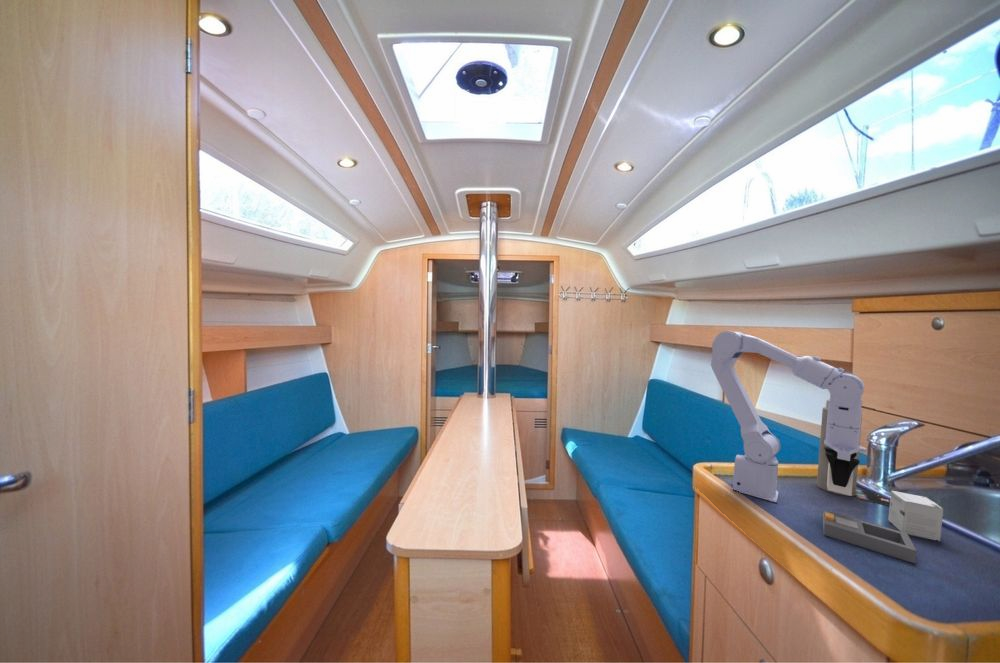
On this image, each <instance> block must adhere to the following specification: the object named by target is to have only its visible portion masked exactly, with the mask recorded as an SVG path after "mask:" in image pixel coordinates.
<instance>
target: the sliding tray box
mask: <svg viewBox="0 0 1000 663" xmlns="http://www.w3.org/2000/svg"><path fill="white" fill-rule="evenodd" d="M822 527H823V528H822V529H823V536H827V537H830V538H833V539H835V540H839V541H843V542H846V543H849V544H852V545H855V546H858V547H862V548H864V549H868V550H871V551H875V552H877V553H880V554H883V555H886V556H890V557H893V558H895V559H896V558H897V559H899V560H903V561H906V562H909V563H912V564H916V563H917V562H916V561H917V560H916V559H917V549H916V547H915V546H914V543H913V541H912V540H911V538H910V536H909V534H907V533H904V532H901V531H900V530H896V529H893V528H890V527H885V526H882V525H879V524H876V523H871V522H868V521H865V520H862V519H859V518H854V517H850V516H846V515H843V514H839V513H836V512H833V511H829V510H825V509H823V510H822Z"/></svg>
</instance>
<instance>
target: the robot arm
mask: <svg viewBox="0 0 1000 663" xmlns="http://www.w3.org/2000/svg"><path fill="white" fill-rule="evenodd" d="M711 348H712V350H711V351H712V354H711V359H710V360H711V361H710V362H711V363H710V366H711V370H712V371H713V374H714V376H715V377H716V380H717V382H718V384H719V385H720V387H721V389H722V391H723V394H724V396H725V398H726V400H727V402H728V404H729V406H730V408H731V410H732V412H733V414H734V416H735V418H736V419H737V420H736V421H737V422H738V425H739V426H740V436H741V438H742V441H743V451H744V455H743V454H736V456H735V458H734V464H733V465H734V467H733V475H732V482H733V483H732V489H733V488H734V489H735V490H737V491H736V492H738V491H739V492H738V493H742V494H746V495H748V496H752V497H756V498H758V499H763V500H764V501H765V500H766V501H768V502H772V503H778V498H779V491H778V490H777V485H778V482H777V481H778V473H779V472H778V471H779V460H778V459H777V457H776V454H778V453H779V452H780V450H781V442H780V440H779V439H778V438H777V437H776V436H775V435H774V434H773V433H772V432H771V431H770V430H769V428H768V426H767V425H766V424H765V422H763V421H762V420H761V418H760V416H759V413H758V412H757V410H756V408H755V406H754V404H753V402H752V400H751V398H750V397H749V395H748V393H747V390H746V388H745V386H744V384H743V383H742V381H741V379H740V376H739V374H738V373H737V371H736V369H735V365H736V363H737V361H738V359H739V358H740V356H741V355H743V354H744V353H756V354H758V355H762V356H764V357H766V358H767V359H770V360H772V361H775V362H778V363H780V364H781V365H784V366H786V367H788V368H790V369H791V371H792V373H793V376H795V377H797V378H800V379H801V380H803V381H806V382H807V383H810V384H812V385H813V386H816V387H818V388H820V389H822V390H826V389H827V391H828V392H829V394H830V395H829V397H830V398H829V399H830V403H829V404H828V415H827V427H826V439H825V440H824V444H825V445H827V446H828V447H824V449H825V451H826V452H825V455H826V457H827V459H828V461H829V463H830V467H831V474H832V481H833V484H834V485H837V486H842V487H846V486H847V484H848V481H849V478H850V475H851V473H852V471H853V470H854V468H855V467H856V466H857V465H858V466H859V464H860V460H859V458H858V459H854V458H855V456H856V455H857V453H856V452H859V453H860V452H863V453H867V448H866V447H864V446H862V445H860V446H859V441H860V442H861V434H860V429H861V430H862V422H861V417H862V418H863V407H862V405H863V400H862V396H863V394H864V392H865V383H864V381H863V380H862V379H861V378H860V376H857V375H855V374H854V373H852V372H844V371H845V369H844V368H842V367H835V366H832V365H831V364H828V363H826V362H824V361H821V360H822V359H821V357H820V356H819V357H818V356H816V355H813V357H812V356H810V355H804V356H798V355H795V354H793V353H791V352H789V351H787V350H785V349H783V348H781V347H779V346H776V345H774V344H772V343H771V342H768V341H767V340H764V339H762V338H759V337H758V336H753V335H750V334H746V333H744V332H743V331H738V330H735V331H733V330H724V331H721V332H720V333H718V334H717V335H716V336H715V338H714V340H713V341H712V343H711Z"/></svg>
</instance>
